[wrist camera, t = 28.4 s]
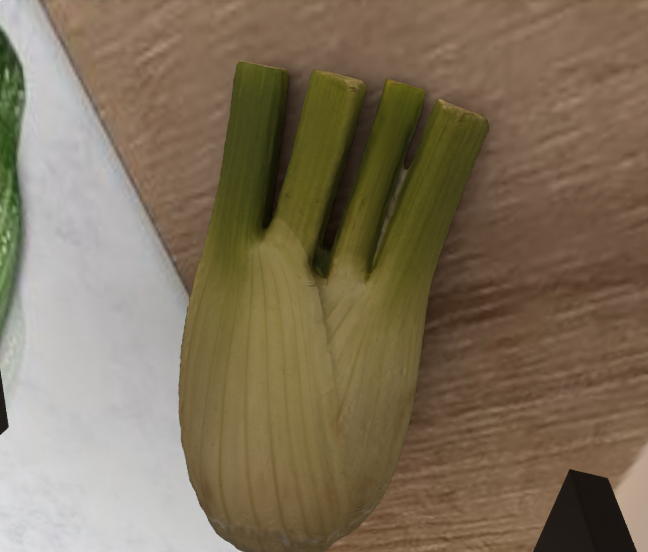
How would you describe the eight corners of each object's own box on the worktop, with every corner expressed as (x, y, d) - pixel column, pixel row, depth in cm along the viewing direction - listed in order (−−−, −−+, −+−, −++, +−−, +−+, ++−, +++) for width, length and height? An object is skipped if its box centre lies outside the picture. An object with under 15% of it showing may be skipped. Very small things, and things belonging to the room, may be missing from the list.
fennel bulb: (131, 486, 15) (211, 30, 12) (255, 432, 19) (338, 80, 16) (284, 633, 12) (446, 64, 9) (394, 532, 16) (532, 116, 13)
